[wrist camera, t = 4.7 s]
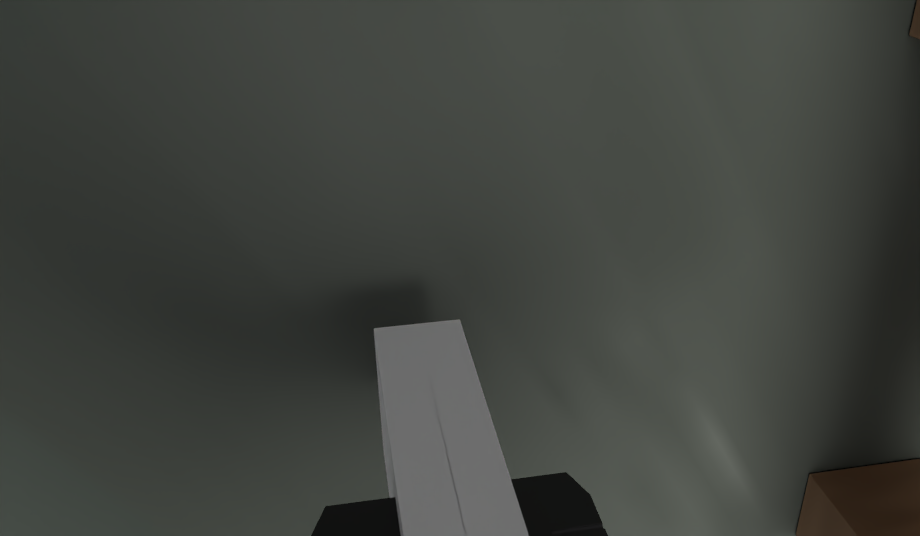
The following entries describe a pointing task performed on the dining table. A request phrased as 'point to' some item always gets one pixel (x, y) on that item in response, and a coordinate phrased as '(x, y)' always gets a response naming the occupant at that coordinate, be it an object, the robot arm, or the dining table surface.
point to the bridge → (865, 486)
